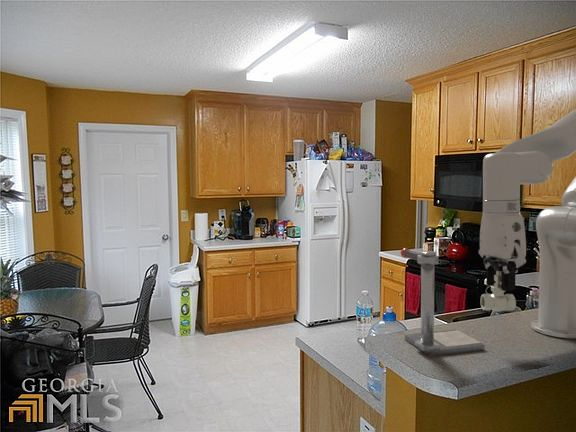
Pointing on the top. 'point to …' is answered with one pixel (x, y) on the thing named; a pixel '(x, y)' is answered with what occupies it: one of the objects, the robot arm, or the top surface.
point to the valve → (497, 290)
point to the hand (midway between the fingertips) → (500, 286)
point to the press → (428, 338)
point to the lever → (419, 257)
